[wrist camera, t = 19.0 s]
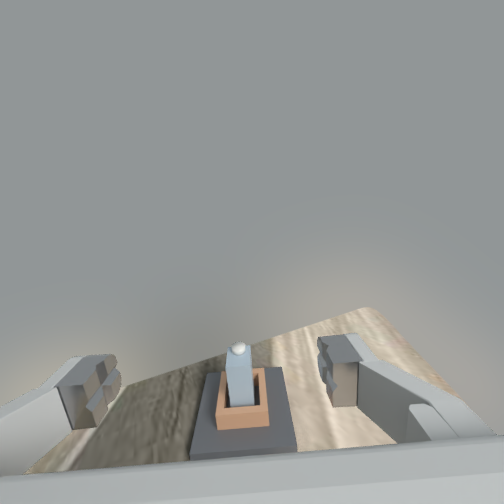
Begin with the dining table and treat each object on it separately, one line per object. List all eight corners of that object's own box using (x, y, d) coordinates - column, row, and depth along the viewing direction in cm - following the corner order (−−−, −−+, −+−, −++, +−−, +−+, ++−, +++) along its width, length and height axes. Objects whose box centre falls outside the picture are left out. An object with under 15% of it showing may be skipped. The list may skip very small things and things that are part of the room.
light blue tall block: (232, 416, 40) (224, 362, 37) (233, 392, 45) (227, 342, 42) (255, 414, 40) (249, 359, 37) (254, 390, 45) (249, 340, 42)
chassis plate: (190, 461, 35) (186, 439, 34) (208, 378, 50) (205, 361, 49) (297, 453, 35) (296, 429, 34) (281, 372, 50) (280, 354, 49)
